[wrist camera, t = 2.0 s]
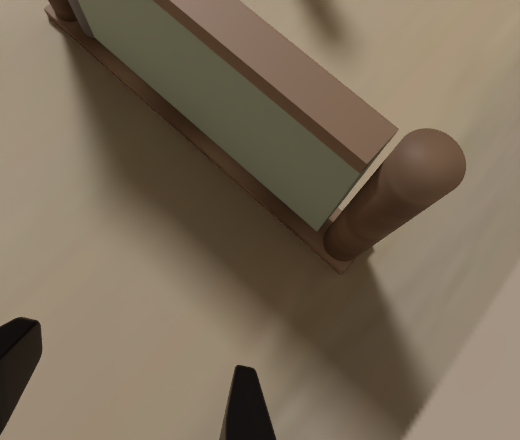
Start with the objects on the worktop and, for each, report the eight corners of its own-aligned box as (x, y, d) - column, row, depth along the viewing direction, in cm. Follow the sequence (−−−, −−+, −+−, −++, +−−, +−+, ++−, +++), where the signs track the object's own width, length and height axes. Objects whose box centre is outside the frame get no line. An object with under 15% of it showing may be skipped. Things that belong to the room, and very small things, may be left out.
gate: (75, 25, 25) (-13, -152, 16) (97, 7, 25) (23, -175, 16) (314, 234, 22) (367, 164, 14) (334, 212, 23) (398, 129, 14)
